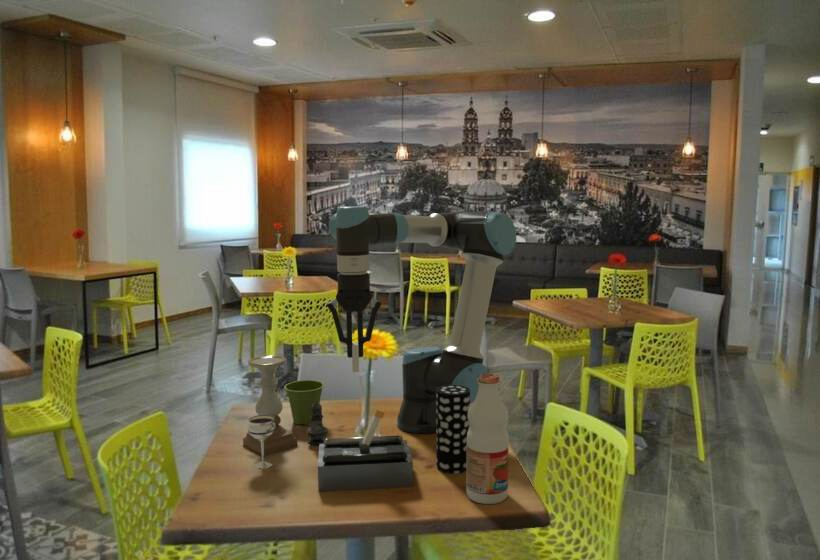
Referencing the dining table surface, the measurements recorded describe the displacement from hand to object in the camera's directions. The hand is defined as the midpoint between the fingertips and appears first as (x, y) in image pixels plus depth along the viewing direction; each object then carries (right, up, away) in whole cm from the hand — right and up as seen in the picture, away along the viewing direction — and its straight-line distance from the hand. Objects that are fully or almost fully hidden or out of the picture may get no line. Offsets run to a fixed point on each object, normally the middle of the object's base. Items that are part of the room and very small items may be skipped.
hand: (355, 370), depth 159 cm
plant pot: (-19, -21, +42) cm, 50 cm away
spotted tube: (+24, -26, +8) cm, 36 cm away
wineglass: (-24, -26, +10) cm, 37 cm away
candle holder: (-25, -24, +23) cm, 42 cm away
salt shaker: (-13, -23, +25) cm, 37 cm away
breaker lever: (+1, -20, +2) cm, 20 cm away
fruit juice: (+30, -28, -8) cm, 42 cm away
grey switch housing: (+2, -26, +3) cm, 26 cm away
